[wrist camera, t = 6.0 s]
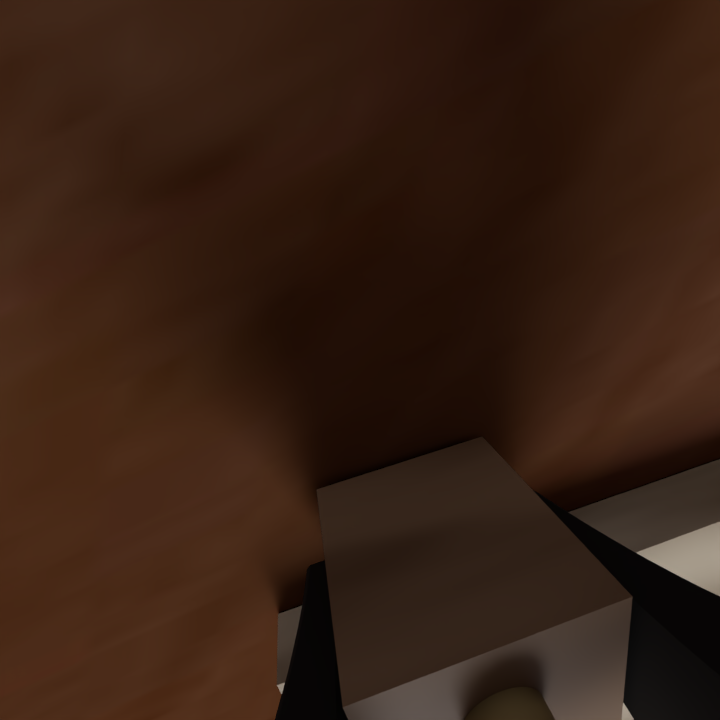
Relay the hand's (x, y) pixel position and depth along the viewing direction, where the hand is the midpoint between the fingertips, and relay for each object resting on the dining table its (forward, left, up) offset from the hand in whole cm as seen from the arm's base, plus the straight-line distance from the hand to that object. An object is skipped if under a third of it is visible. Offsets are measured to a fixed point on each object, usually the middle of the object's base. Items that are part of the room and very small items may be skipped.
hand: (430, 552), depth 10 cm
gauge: (-4, 0, -1) cm, 4 cm away
